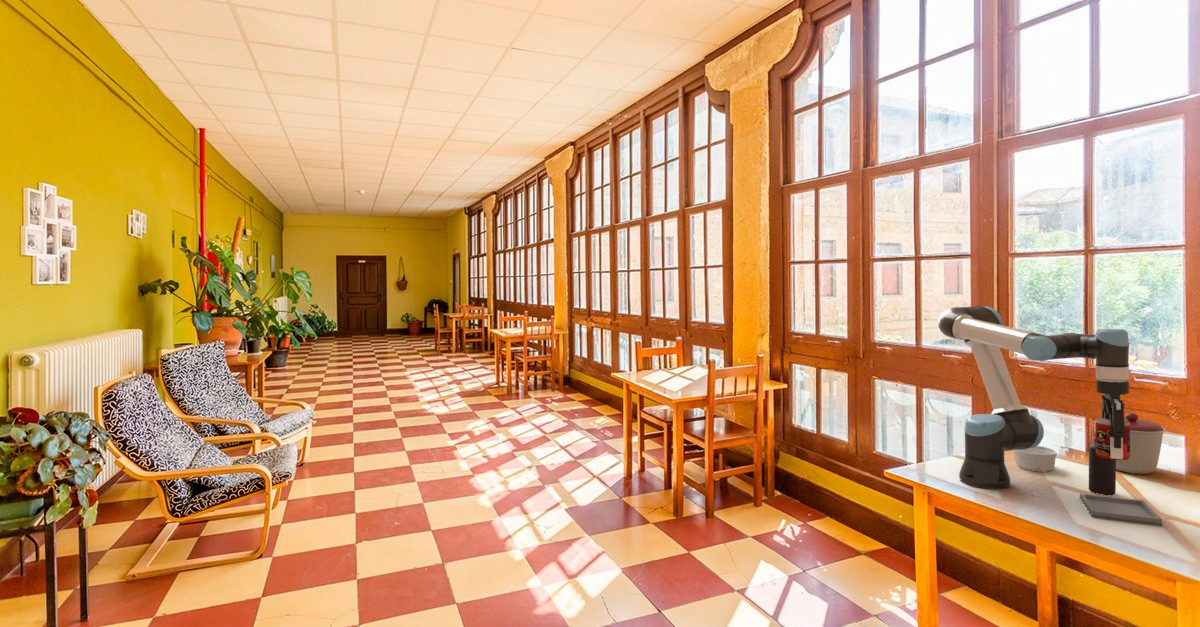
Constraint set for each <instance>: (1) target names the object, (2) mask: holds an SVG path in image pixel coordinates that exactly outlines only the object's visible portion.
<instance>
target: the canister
mask: <svg viewBox="0 0 1200 627" xmlns="http://www.w3.org/2000/svg"><path fill="white" fill-rule="evenodd" d="M1124 420H1125V421H1128V422H1130V457H1129V459H1127V460H1116V471H1119V472H1122V471H1123V472H1124V473H1127V474H1134V475H1135V474H1136V475H1149V474H1152V473H1154V472H1155V471H1156V470H1157V468H1158V464H1159V459H1160V456H1161V455H1160V454H1161V450H1162V449H1161V448H1162V443H1163V437H1164V436H1163V435H1164V433H1165V432H1166V431H1167V429H1166V428H1165V427H1163V426H1162V425H1161V424H1158V423H1156V422H1153V421H1150V420H1145V419H1139V415H1138V414H1137V413H1134V412H1127V413H1126V414H1124Z"/></svg>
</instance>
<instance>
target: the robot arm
mask: <svg viewBox="0 0 1200 627" xmlns="http://www.w3.org/2000/svg"><path fill="white" fill-rule="evenodd" d="M937 323H938V328H939V330H940V332H941V333H942V334H943V335H944V336H946V337H948V338H951V339H956V340H959V341H963V342H964V344H965V345H966V346H968V347H970V349H971V350H972V354H973V357H974V358H975V362H976V364H977V367H978V370H979V373H980V375H981V378H982V381H983V382H982V383H983V385H984V387H985V390H986V392H987V395H988V398H989V399H988V400H989V401H990V404H991V407H992V409H993V410H992V411H991V413H984V414H983V413H977V414H972V415H969V416H968V417H967V418H966V419H965V425H964V459H963V462H962V465H961V467H960V470H959V474H958V479H959V478H960V479H961V480H962V481H963V482H962V481H961V480H960V479H959V480H960V481H961V482H962V483H964V482H965V483H964V484H966V483H967V484H966V485H968V484H970V485H969V486H972V485H973V486H972V487H975V486H977V487H976V488H980V487H984V488H983V489H987V488H991V489H990V490H1003V489H1007V488H1009V487H1011V477H1010V475H1009V474H1010V473H1009V471H1008V469H1007V466H1006V463H1005V452H1009V451H1010V452H1011V451H1013V450H1020V449H1021V450H1024V449H1028V448H1032V447H1035V446H1039V445H1040V443H1042V441H1043V438H1044V434H1045V433H1044V432H1045V430H1044V426H1043V424H1042V422H1041V421H1040V420H1039V418H1036V417H1037V416H1034V415H1031V414H1030V411H1029V408H1027V407H1026V406H1024V405H1022V404H1021V401H1020V399H1019V395H1018V394H1017V391H1016V389H1015V385H1014V383H1013V381H1012V378H1011V374H1010V372H1009V369H1008V367H1007V364H1006V362H1005V359H1004V356H1003V352H1002V351H1001V349H1003V350H1005V351H1010V352H1015V353H1019V354H1022V355H1024V356H1025V357H1026V358H1028V359H1029V360H1030V361H1031V360H1032V361H1039V362H1040V361H1041V362H1042V361H1043V362H1044V361H1050V360H1063V359H1074V358H1076V359H1077V358H1080V359H1081V358H1082V359H1090V360H1091V359H1092V360H1093V359H1094V360H1095V378H1096V379H1097V380H1096V381H1095V391H1096V392H1097V393H1099V394H1104V395H1101V418H1105V419H1110V423H1111V434H1109V435H1108V436H1109V437H1110V458H1114V459H1123V437H1125V425H1124V418H1125V403H1124V402H1123V399H1121V395H1124V396H1125V395H1128V394H1129V393H1130V383H1129V381H1128V380H1129V378H1130V373H1132V370H1131V369H1129V367H1130V366H1129V365H1130V363H1129V357H1130V356H1129V354H1130V352H1129V351H1130V341H1129V340H1130V339H1129V333H1128V331H1127V330H1125V329H1123V328H1122V329H1121V328H1099V329H1096V330H1095V334H1089V333H1088V334H1086V333H1085V334H1084V333H1075V332H1064V333H1059V334H1054V335H1046V334H1041V333H1036V332H1032V331H1028V330H1025V329H1024V330H1023V329H1020V328H1016V327H1011V326H1006V325H1003V324H1004V323H1003V318H1002V317H1001V314H1000V313H999V312H998V310H996V309H995V308H992V307H990V306H985V305H984V306H983V305H975V306H958V307H950V308H948V309H946V310H944V311H943V312H942V313H941V314H940V316H939V318H938V322H937Z"/></svg>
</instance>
